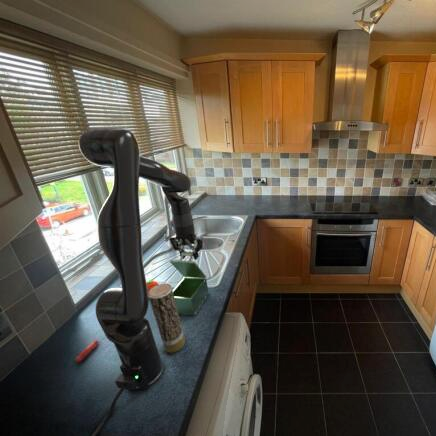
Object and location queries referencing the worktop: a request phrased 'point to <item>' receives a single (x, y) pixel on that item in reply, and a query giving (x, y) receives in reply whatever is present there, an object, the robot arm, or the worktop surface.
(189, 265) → the lid
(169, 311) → the brown textured cylinder
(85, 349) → the red rounded rod
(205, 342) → the worktop surface
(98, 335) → the worktop surface
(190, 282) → the box
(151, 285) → the tomato
